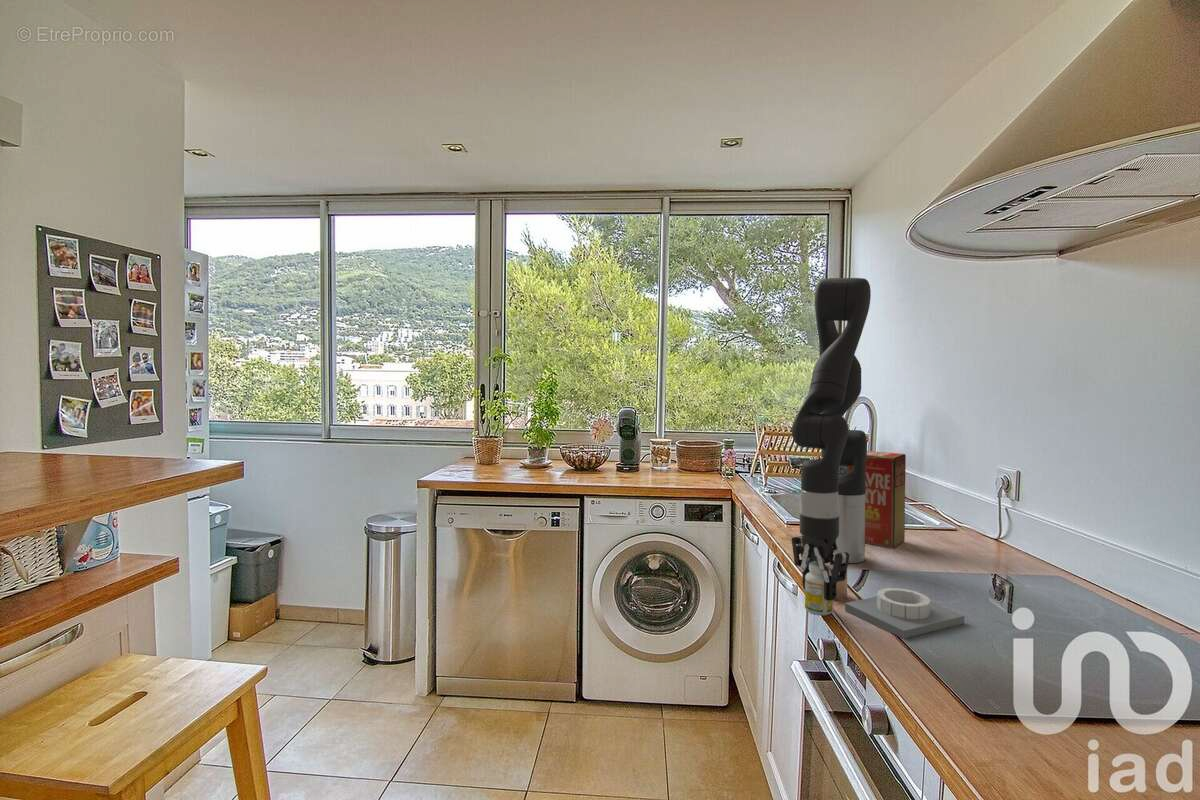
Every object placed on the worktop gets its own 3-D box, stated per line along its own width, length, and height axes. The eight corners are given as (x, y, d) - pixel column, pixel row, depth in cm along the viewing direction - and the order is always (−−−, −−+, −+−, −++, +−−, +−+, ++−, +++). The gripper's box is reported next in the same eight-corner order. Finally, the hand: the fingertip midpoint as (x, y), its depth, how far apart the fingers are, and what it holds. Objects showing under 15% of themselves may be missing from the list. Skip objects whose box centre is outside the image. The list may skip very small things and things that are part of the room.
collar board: (845, 610, 121) (845, 591, 121) (902, 597, 127) (902, 579, 127) (903, 638, 108) (904, 617, 108) (964, 623, 114) (964, 602, 114)
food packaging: (844, 539, 170) (845, 452, 168) (857, 532, 176) (858, 449, 175) (894, 549, 160) (895, 457, 159) (906, 541, 167) (907, 453, 166)
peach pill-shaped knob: (817, 593, 130) (817, 566, 130) (834, 589, 132) (835, 563, 132) (834, 601, 126) (834, 573, 126) (852, 597, 128) (852, 570, 127)
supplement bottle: (811, 616, 118) (812, 569, 118) (800, 606, 124) (800, 560, 123) (837, 615, 119) (838, 568, 118) (825, 604, 124) (825, 559, 123)
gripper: (861, 518, 115) (860, 604, 116) (808, 502, 128) (808, 580, 129) (831, 522, 112) (830, 610, 113) (780, 506, 125) (780, 585, 126)
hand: (818, 593), depth 121 cm, fingers closed on supplement bottle, 5 cm apart
